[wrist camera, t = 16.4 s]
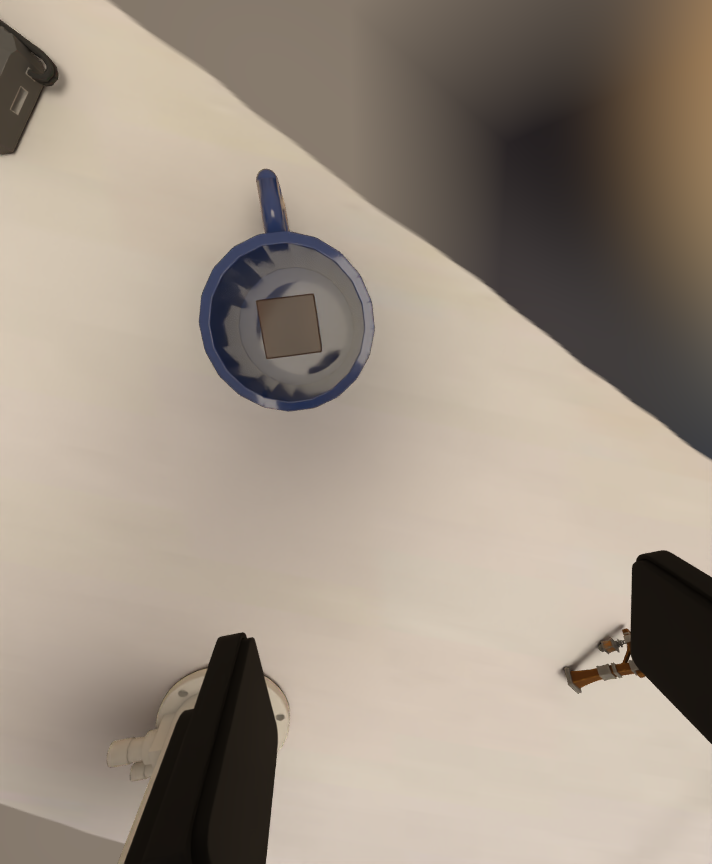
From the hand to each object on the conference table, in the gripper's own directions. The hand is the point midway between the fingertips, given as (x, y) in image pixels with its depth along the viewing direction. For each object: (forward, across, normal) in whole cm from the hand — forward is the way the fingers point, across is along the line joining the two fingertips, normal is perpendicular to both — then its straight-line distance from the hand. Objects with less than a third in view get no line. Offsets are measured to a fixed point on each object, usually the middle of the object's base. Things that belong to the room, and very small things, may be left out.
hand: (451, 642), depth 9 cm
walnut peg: (+23, +3, -9) cm, 25 cm away
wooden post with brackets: (+24, -21, +28) cm, 43 cm away
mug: (+24, +3, -10) cm, 26 cm away
